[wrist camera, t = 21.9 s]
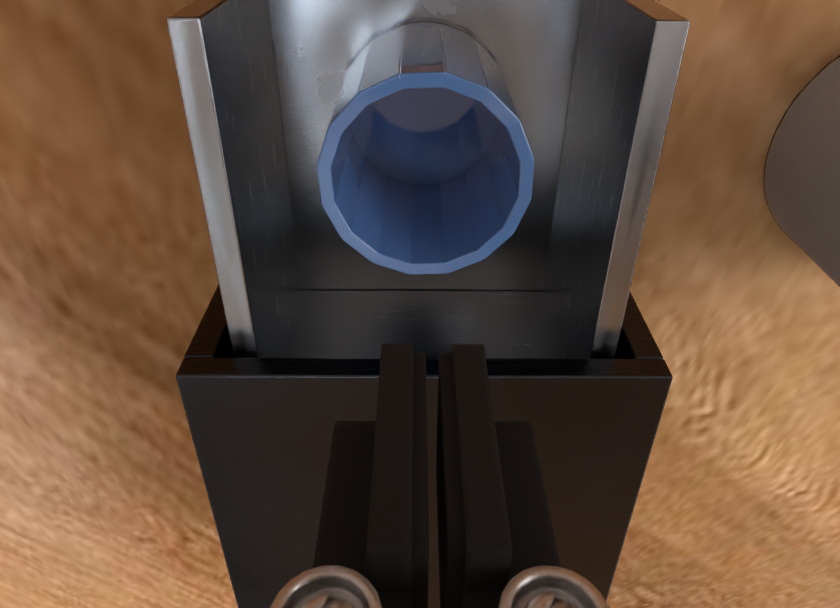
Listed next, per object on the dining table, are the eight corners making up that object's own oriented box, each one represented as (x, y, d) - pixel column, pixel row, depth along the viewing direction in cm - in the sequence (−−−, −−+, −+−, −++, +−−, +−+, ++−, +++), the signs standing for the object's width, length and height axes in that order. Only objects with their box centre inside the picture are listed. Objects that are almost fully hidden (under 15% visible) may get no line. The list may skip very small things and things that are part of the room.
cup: (420, -20, 21) (421, 20, 16) (541, 106, 23) (578, 178, 18) (307, 114, 23) (274, 188, 18) (427, 216, 26) (429, 308, 20)
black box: (252, 213, 28) (174, 375, 19) (592, 214, 28) (673, 376, 19) (292, 475, 37) (253, 666, 28) (547, 476, 37) (587, 666, 29)
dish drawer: (178, -340, 18) (7, -490, 10) (675, -335, 18) (860, -481, 10) (271, 290, 29) (221, 434, 22) (571, 291, 29) (624, 434, 22)
